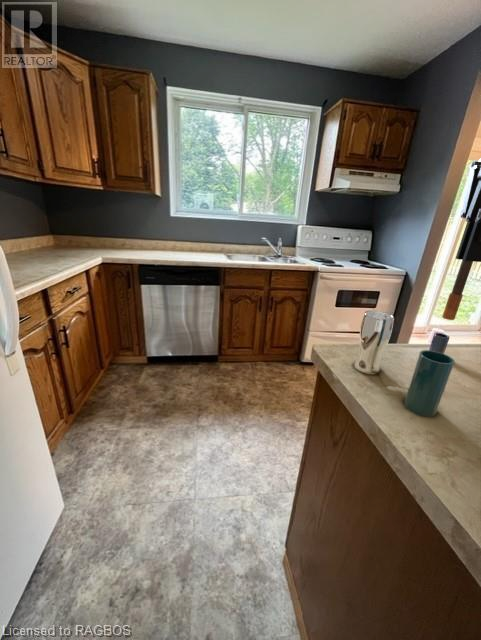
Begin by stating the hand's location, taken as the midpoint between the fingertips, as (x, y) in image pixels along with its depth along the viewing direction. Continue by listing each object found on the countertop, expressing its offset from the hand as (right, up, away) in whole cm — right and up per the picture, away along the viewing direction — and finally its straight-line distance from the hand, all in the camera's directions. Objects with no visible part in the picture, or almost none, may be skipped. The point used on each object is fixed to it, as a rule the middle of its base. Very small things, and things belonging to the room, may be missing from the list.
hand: (468, 260), depth 49 cm
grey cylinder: (+15, -22, +30) cm, 40 cm away
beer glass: (-8, -24, +22) cm, 34 cm away
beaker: (-4, -29, +7) cm, 31 cm away
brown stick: (-1, -11, +4) cm, 11 cm away
